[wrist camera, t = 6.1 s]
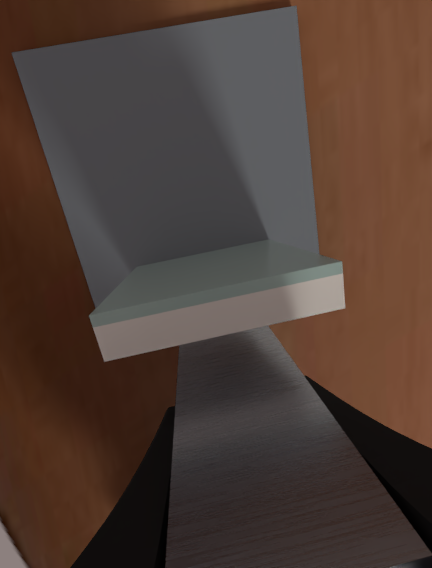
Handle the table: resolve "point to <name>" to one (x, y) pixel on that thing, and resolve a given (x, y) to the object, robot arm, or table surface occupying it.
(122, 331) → the tile
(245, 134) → the mat
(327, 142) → the table surface
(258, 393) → the block
